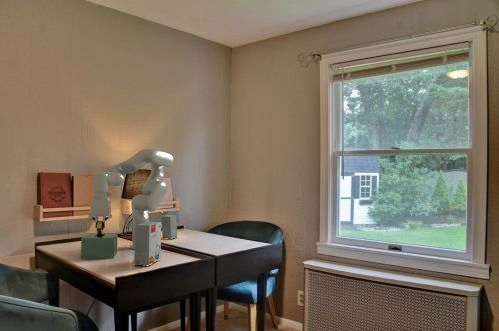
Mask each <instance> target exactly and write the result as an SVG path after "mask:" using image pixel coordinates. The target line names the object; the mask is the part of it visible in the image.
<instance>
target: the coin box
mask: <svg viewBox="0 0 499 331" xmlns="http://www.w3.org/2000/svg"><path fill="white" fill-rule="evenodd" d="M118 235H119V233H118V232H102V235H98V234H97V232H88V233H86V234H84V235H83V236H82V237H80V238H81V240H80V242H81V245H80V247H81V248H80V260H107V259H108V260H110V259H115V257H116V255H117V254H118V238H119V237H118Z"/></svg>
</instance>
